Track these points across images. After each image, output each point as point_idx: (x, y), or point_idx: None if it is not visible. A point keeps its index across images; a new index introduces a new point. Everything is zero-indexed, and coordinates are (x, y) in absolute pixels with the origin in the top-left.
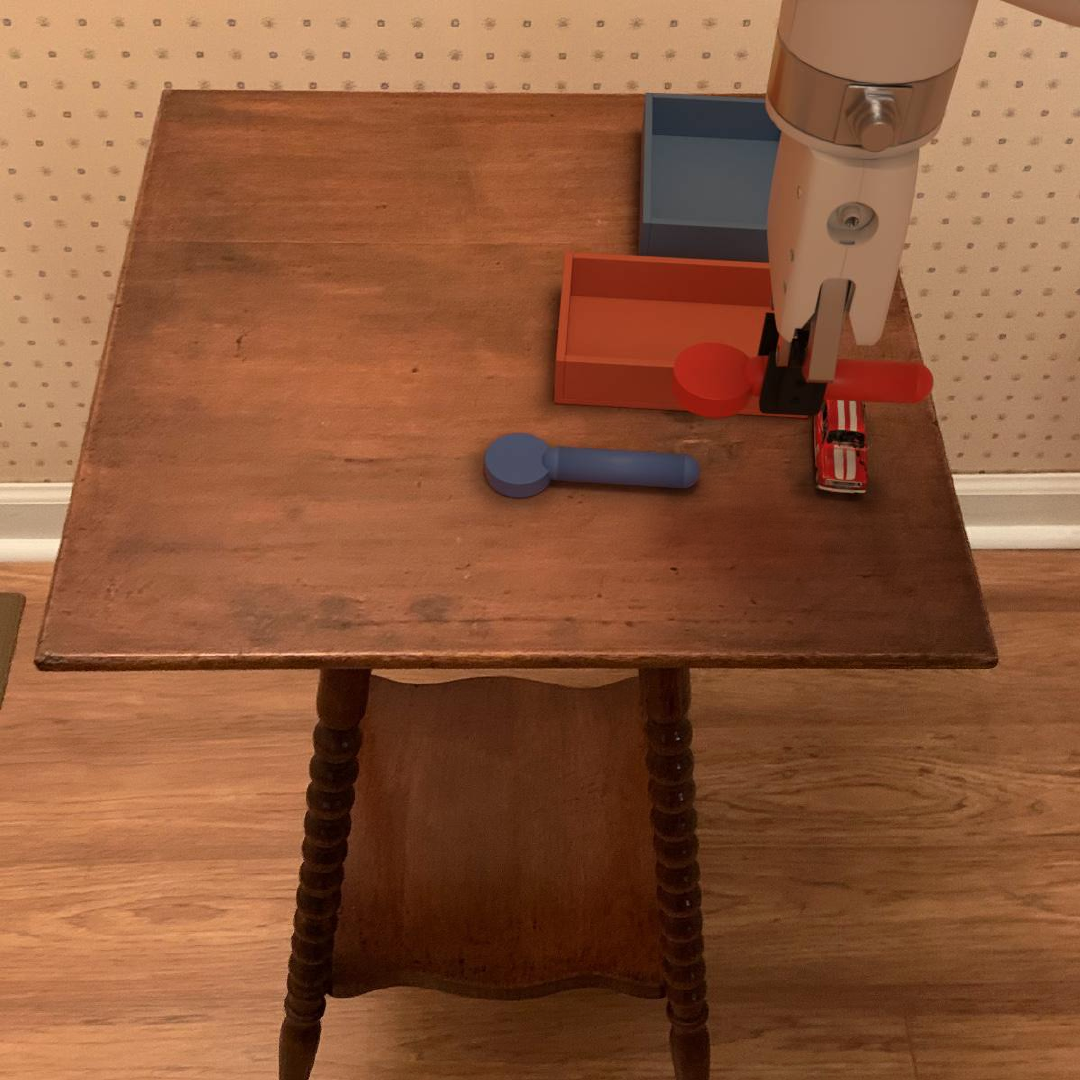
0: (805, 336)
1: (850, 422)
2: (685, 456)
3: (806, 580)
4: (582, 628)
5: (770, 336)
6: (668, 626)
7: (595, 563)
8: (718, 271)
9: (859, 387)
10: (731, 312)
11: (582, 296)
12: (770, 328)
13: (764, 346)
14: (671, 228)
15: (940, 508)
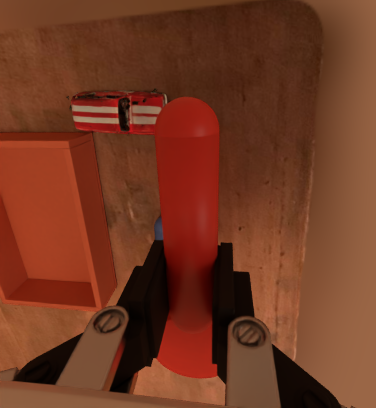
0: (157, 304)
1: (109, 112)
2: (160, 231)
3: (248, 144)
4: (284, 276)
5: (161, 337)
6: (285, 233)
7: (236, 269)
8: None
9: (214, 215)
10: (4, 183)
11: (26, 272)
12: (158, 350)
13: (165, 325)
14: None
15: (168, 21)
